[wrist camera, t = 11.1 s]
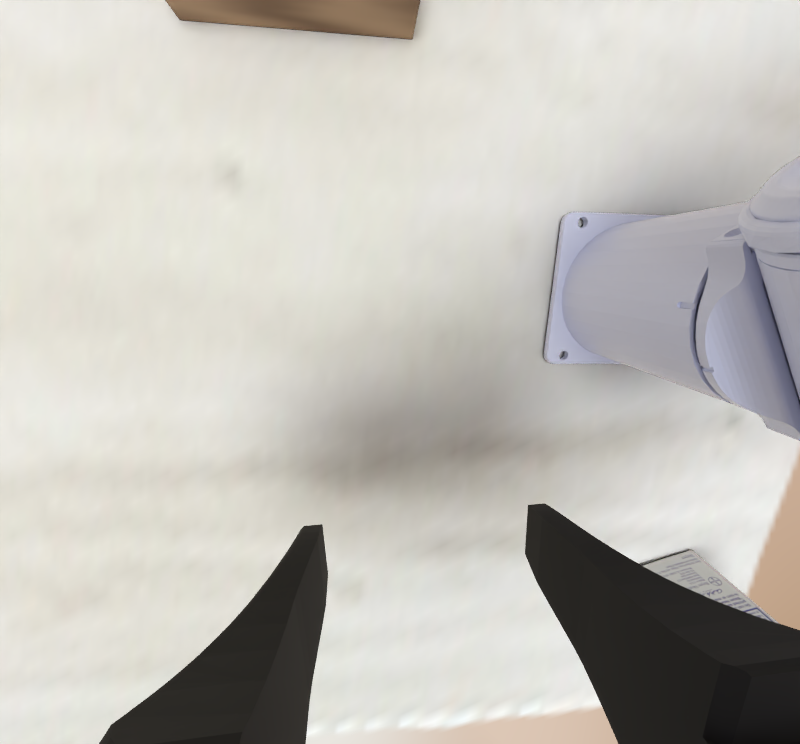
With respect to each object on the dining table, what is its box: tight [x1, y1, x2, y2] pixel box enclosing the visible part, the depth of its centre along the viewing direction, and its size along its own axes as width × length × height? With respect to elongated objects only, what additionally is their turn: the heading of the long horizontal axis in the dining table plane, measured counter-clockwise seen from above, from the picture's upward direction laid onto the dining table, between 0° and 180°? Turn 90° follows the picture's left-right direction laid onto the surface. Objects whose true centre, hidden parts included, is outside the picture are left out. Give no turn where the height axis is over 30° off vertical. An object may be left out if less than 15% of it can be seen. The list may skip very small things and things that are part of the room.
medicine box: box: [642, 550, 779, 624], centre depth 23 cm, size 8×4×9 cm, turn 15°
